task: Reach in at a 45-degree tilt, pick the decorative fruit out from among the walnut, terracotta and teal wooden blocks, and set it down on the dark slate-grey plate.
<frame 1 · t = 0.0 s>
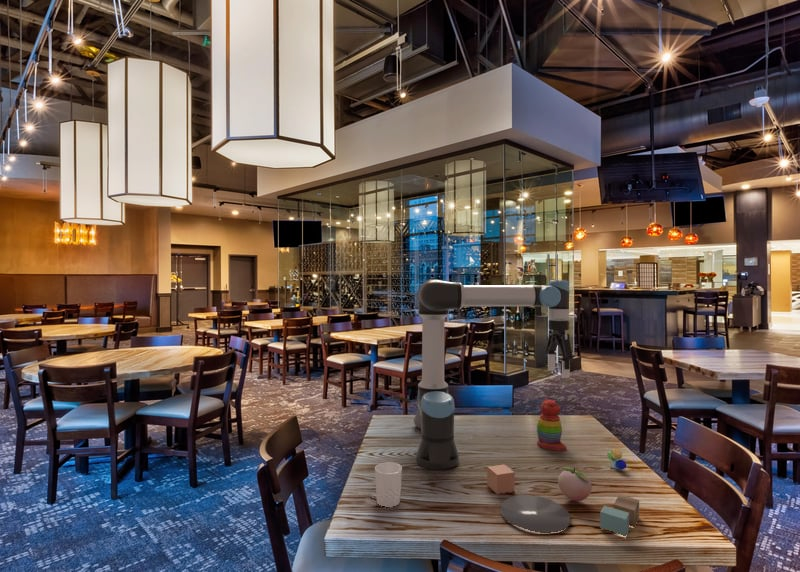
hand: (558, 373, 171), 28 cm above the table, tool pointing down, fingers open, 13 cm apart
walnut block: (626, 520, 118), on the table
teal block: (614, 531, 112), on the table
terracotta block: (500, 488, 135), on the table
decorative fruit: (573, 502, 127), on the table
stacking bear: (550, 446, 170), on the table
dice: (616, 468, 150), on the table
white cup: (388, 502, 127), on the table
slate plate: (534, 515, 119), on the table
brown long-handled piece: (415, 428, 190), on the table
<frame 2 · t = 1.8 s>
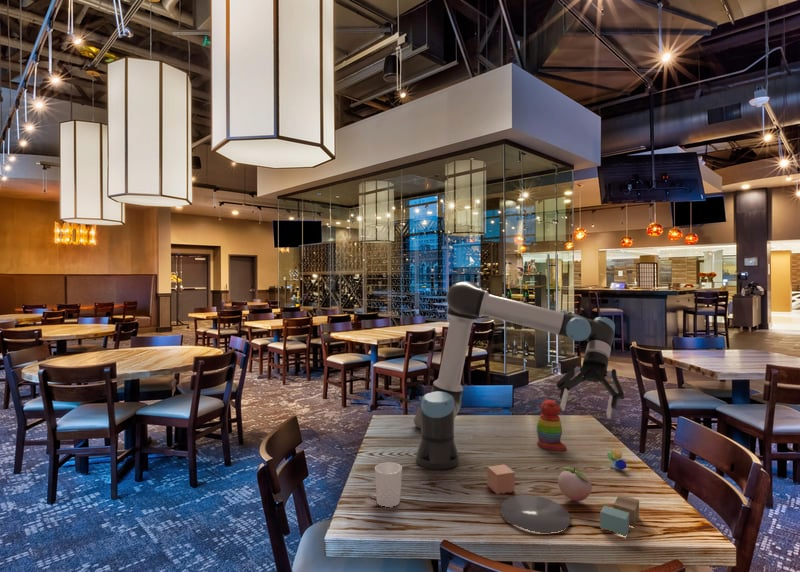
hand: (584, 412, 135), 24 cm above the table, tool tilted 45°, fingers open, 13 cm apart
nothing on the table moved.
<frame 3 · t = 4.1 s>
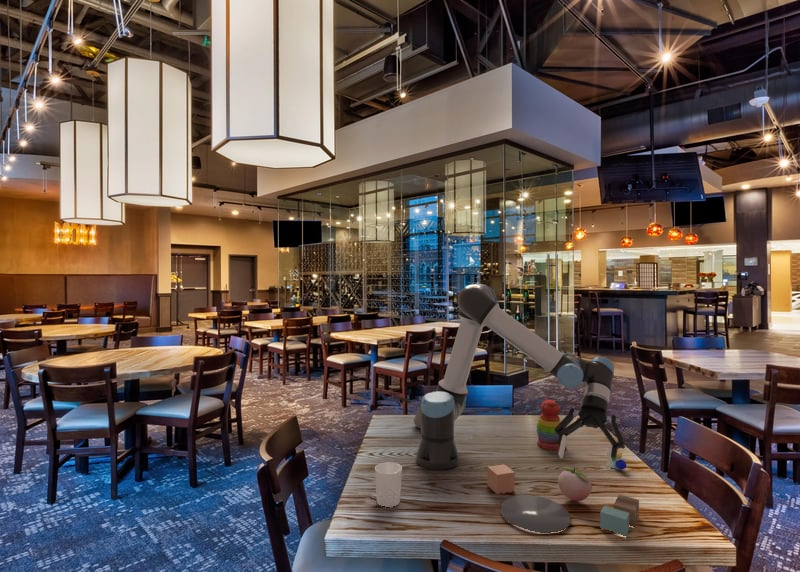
hand: (583, 461, 131), 10 cm above the table, tool tilted 45°, fingers open, 13 cm apart
nothing on the table moved.
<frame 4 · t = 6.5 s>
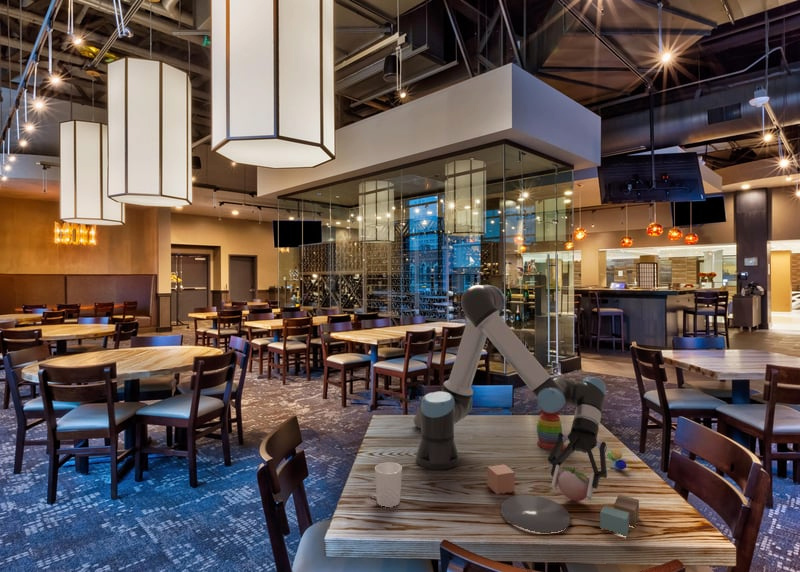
hand: (570, 492, 124), 4 cm above the table, tool tilted 45°, fingers closed on decorative fruit, 9 cm apart
decorative fruit: (573, 502, 127), on the table, touching gripper
everything else where it was.
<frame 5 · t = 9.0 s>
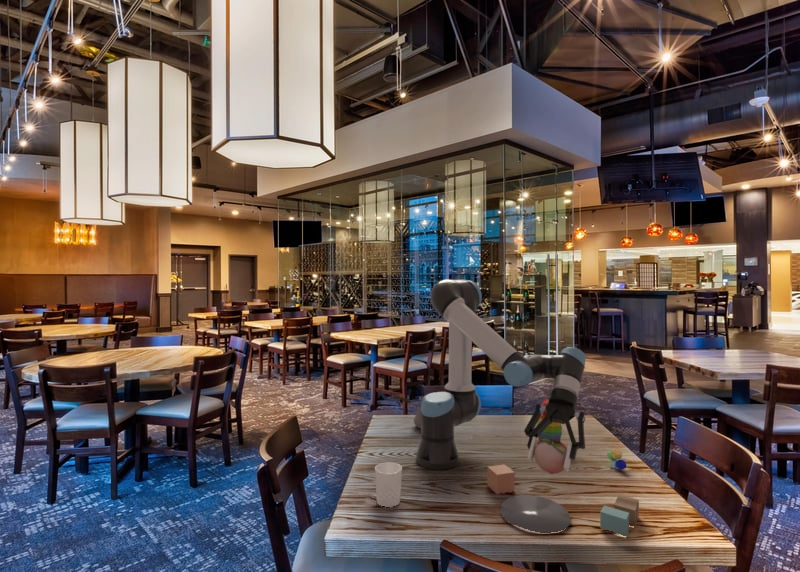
hand: (547, 464, 119), 14 cm above the table, tool tilted 45°, fingers closed on decorative fruit, 9 cm apart
decorative fruit: (550, 475, 121), point 10 cm above the table, touching gripper
everything else where it was.
when the fingers open (6 cm above the table, at t = 11.8 s): decorative fruit drops 1 cm, resting on slate plate.
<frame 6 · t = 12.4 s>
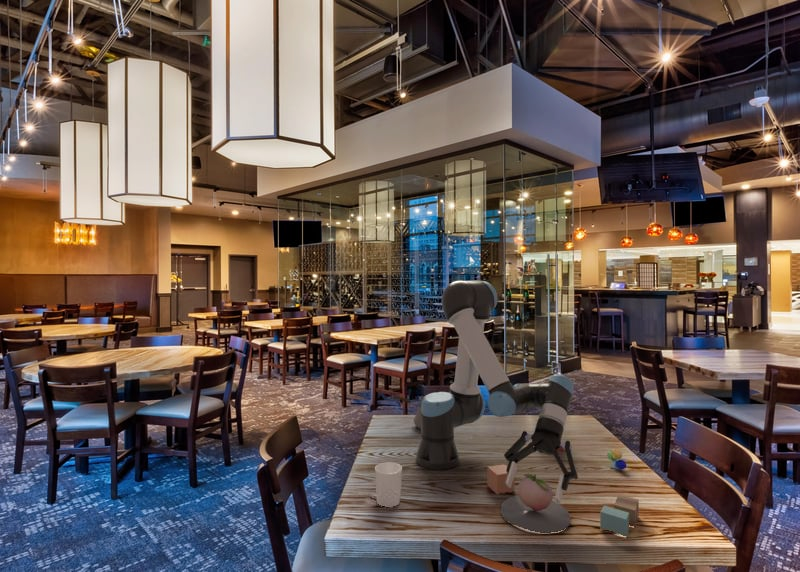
hand: (531, 493, 118), 7 cm above the table, tool tilted 45°, fingers open, 13 cm apart
decorative fruit: (534, 511, 120), point 1 cm above the table, touching slate plate
everything else where it was.
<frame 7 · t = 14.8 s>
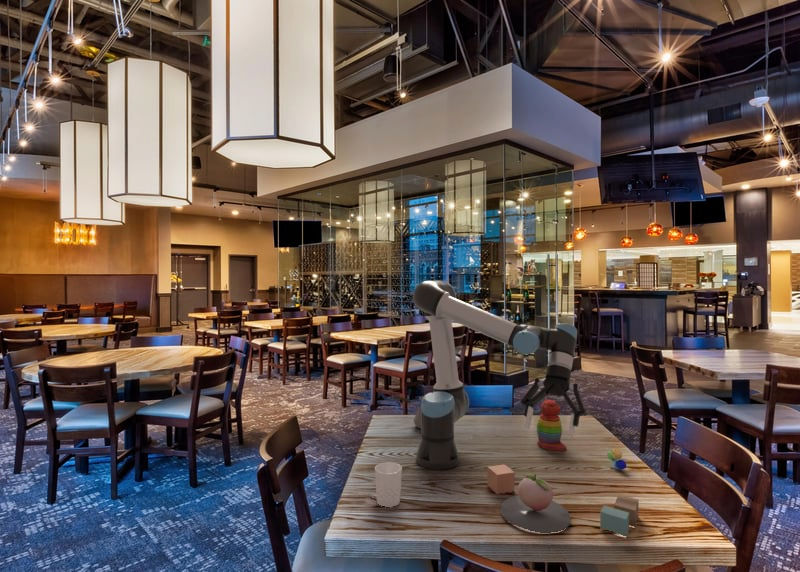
hand: (548, 431, 136), 17 cm above the table, tool tilted 30°, fingers open, 13 cm apart
nothing on the table moved.
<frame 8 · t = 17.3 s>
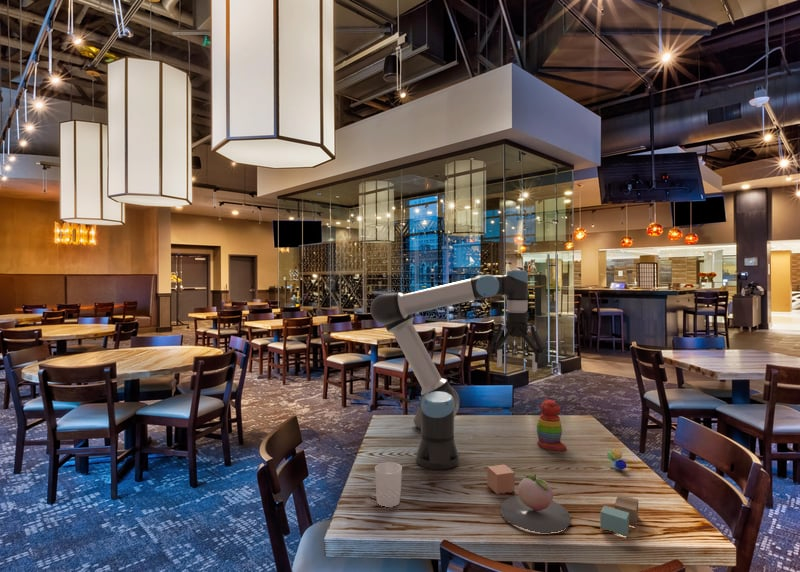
hand: (516, 369, 161), 32 cm above the table, tool pointing down, fingers open, 13 cm apart
nothing on the table moved.
at the end: decorative fruit inside the target area on the slate plate (0.2 cm from its centre), point 1.0 cm above the slate plate's base; decorative fruit touching slate plate; the gripper is holding nothing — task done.
